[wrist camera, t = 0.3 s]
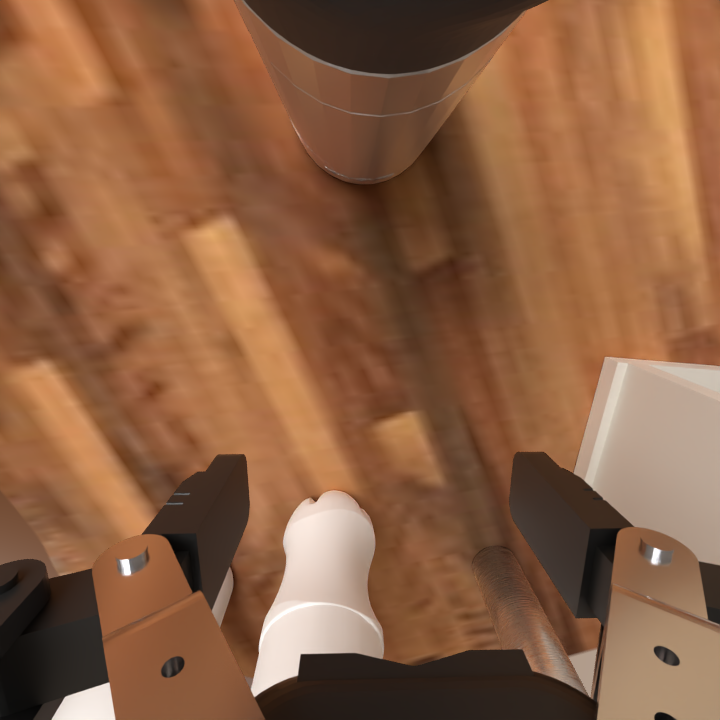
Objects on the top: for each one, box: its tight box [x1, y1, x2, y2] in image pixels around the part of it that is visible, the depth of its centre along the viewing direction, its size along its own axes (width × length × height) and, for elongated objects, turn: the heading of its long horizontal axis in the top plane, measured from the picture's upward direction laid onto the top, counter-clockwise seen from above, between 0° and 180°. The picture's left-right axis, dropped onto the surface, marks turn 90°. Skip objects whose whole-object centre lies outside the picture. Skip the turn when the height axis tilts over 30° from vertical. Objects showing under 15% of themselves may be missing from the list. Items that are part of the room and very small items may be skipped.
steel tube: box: [472, 546, 589, 696], centre depth 27 cm, size 4×4×18 cm
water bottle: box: [251, 490, 384, 697], centre depth 21 cm, size 7×7×25 cm
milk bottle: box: [52, 567, 233, 720], centre depth 25 cm, size 8×8×20 cm
